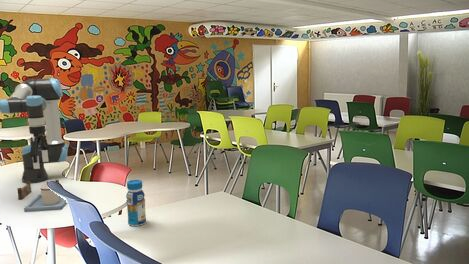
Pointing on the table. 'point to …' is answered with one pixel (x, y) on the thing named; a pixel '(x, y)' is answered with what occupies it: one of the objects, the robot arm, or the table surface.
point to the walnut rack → (26, 190)
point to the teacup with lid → (49, 196)
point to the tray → (39, 206)
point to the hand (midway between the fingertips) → (41, 165)
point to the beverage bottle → (135, 203)
